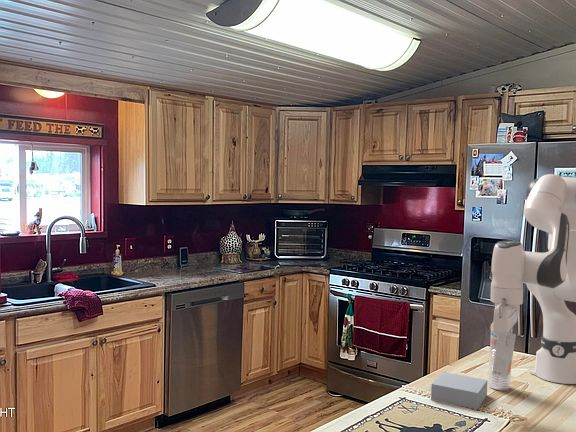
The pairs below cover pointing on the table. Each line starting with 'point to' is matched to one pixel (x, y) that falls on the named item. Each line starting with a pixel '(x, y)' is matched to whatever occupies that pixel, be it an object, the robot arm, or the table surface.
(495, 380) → the water bottle
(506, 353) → the skincare box
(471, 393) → the base block
